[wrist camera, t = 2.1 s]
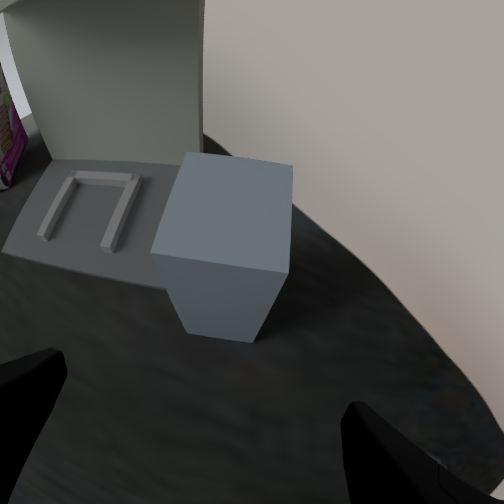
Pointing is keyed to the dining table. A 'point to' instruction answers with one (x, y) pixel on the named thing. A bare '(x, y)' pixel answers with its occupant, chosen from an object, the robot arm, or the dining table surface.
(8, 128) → the candy bar box
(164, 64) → the white open shelf
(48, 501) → the dining table surface
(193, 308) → the tall gray box
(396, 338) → the dining table surface
